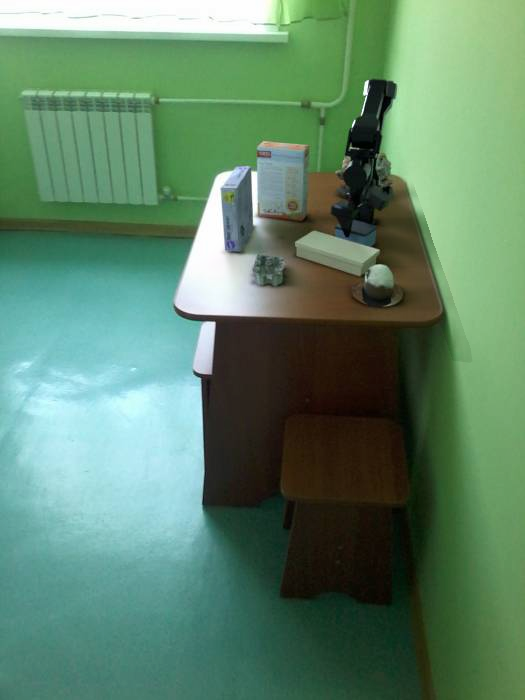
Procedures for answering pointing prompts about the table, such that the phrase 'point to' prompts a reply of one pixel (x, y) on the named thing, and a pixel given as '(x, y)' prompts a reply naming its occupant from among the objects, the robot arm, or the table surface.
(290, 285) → the table surface
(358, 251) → the cream lidded box
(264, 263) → the egg carton
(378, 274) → the egg in cup
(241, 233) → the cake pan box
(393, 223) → the table surface
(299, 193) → the cracker box
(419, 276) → the table surface
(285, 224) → the table surface
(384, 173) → the owl figurine
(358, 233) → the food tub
